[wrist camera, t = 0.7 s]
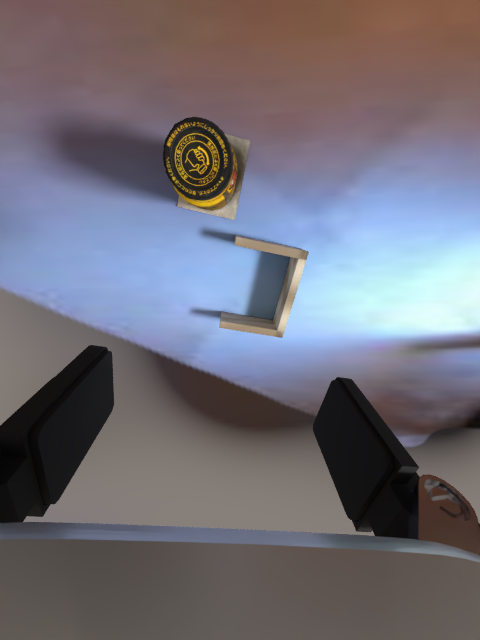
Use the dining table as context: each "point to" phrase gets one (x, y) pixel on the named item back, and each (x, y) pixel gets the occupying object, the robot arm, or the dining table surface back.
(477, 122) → the dining table surface
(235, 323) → the u rest
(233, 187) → the condiment
